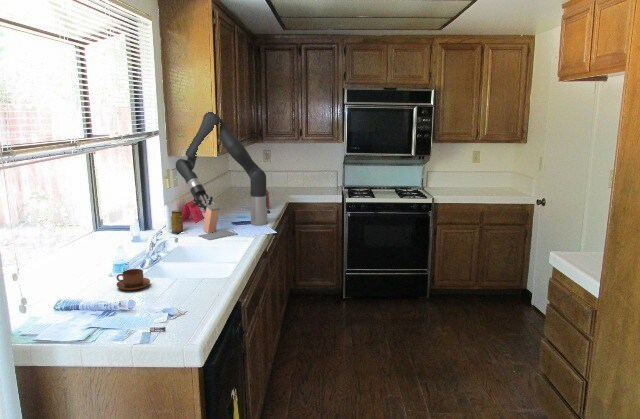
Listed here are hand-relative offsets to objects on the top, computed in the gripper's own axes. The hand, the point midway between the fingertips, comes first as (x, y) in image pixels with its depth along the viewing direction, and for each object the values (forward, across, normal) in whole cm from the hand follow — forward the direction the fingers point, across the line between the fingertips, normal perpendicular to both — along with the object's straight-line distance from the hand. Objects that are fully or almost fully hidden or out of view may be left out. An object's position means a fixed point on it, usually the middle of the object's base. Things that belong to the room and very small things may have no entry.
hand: (209, 212), depth 268 cm
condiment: (0, -13, +16) cm, 21 cm away
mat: (+15, -1, +1) cm, 15 cm away
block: (+7, 0, +8) cm, 11 cm away
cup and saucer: (+46, -70, -30) cm, 89 cm away
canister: (-16, +64, +32) cm, 73 cm away
